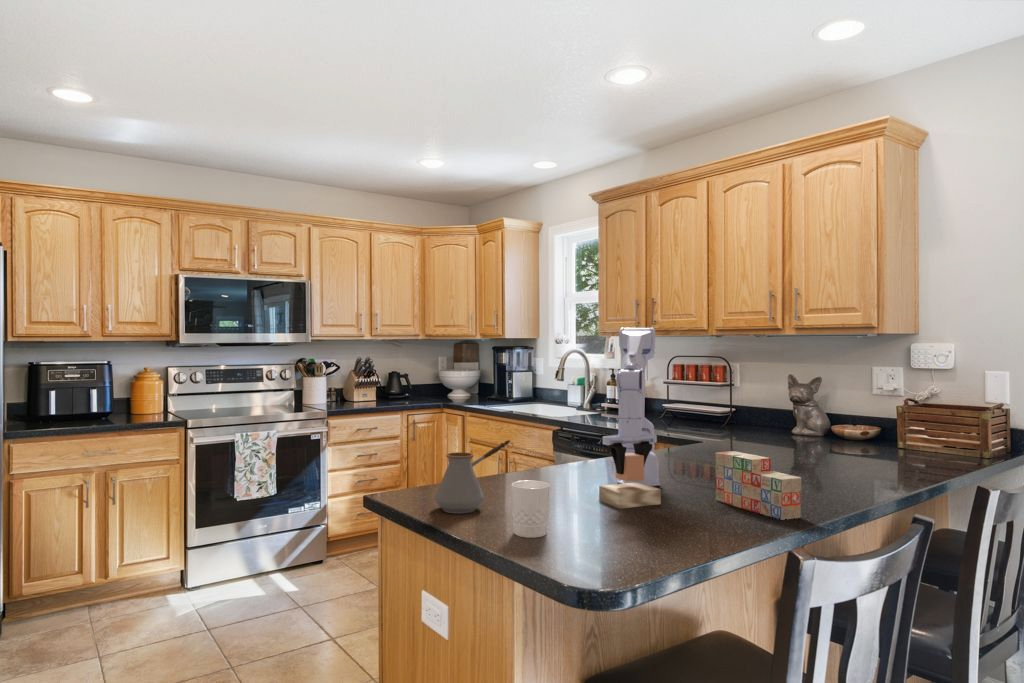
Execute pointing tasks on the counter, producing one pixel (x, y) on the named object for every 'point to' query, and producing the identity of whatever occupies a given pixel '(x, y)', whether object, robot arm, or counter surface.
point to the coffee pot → (462, 483)
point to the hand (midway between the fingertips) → (629, 472)
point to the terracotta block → (632, 468)
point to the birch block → (629, 495)
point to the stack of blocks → (756, 485)
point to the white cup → (530, 508)
